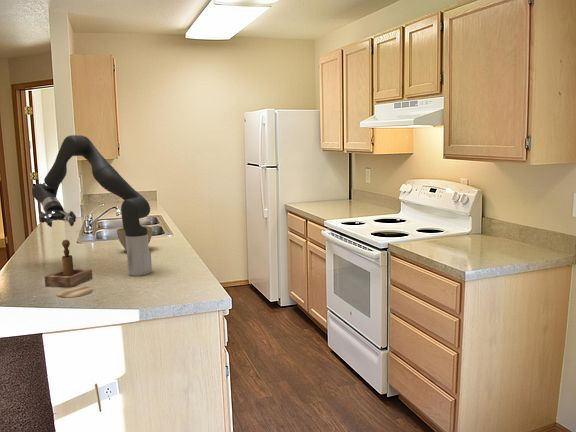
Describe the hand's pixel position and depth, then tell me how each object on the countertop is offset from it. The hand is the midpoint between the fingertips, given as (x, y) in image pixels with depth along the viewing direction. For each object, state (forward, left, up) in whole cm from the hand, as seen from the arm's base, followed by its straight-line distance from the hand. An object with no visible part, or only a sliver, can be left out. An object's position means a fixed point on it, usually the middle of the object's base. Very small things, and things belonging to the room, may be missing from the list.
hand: (61, 224), depth 222 cm
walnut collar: (-8, +8, -23) cm, 26 cm away
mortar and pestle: (-8, +8, -23) cm, 26 cm away
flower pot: (-3, -51, -23) cm, 56 cm away
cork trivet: (-21, +21, -23) cm, 37 cm away
